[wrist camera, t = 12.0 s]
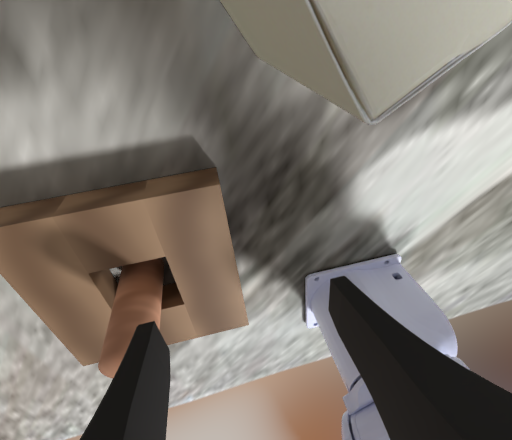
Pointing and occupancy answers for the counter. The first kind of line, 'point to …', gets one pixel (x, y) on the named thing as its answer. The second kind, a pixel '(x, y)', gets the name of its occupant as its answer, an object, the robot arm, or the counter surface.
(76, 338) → the walnut socket plate
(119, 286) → the terracotta peg
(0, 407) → the counter surface
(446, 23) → the skincare box
